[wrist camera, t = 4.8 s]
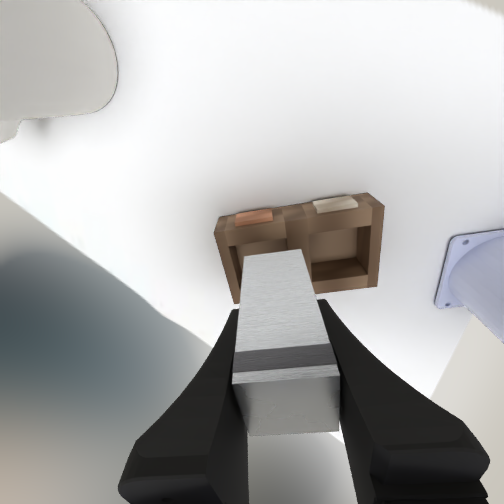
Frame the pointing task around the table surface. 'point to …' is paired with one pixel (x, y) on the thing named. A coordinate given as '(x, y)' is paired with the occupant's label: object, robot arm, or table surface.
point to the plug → (283, 350)
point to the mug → (52, 62)
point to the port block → (309, 240)
